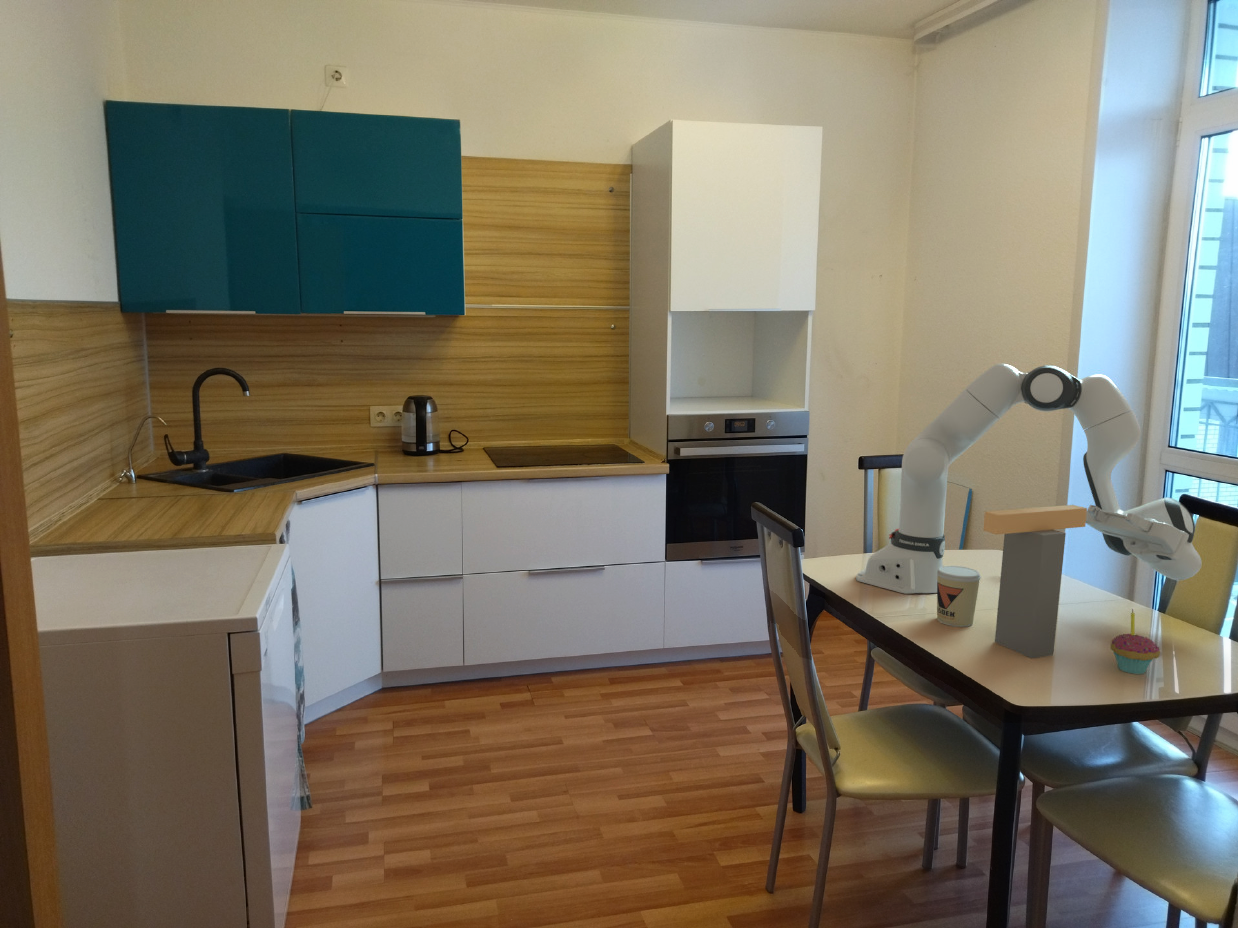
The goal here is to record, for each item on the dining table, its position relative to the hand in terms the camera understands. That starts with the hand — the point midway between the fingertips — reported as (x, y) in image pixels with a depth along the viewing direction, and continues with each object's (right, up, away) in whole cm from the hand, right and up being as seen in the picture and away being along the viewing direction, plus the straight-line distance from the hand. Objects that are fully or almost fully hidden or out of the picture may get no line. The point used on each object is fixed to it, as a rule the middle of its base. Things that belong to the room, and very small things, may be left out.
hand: (1110, 512), depth 191 cm
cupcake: (-3, -31, -14) cm, 34 cm away
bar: (-19, -3, -7) cm, 21 cm away
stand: (-20, -29, -3) cm, 35 cm away
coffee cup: (-28, -26, +14) cm, 41 cm away
